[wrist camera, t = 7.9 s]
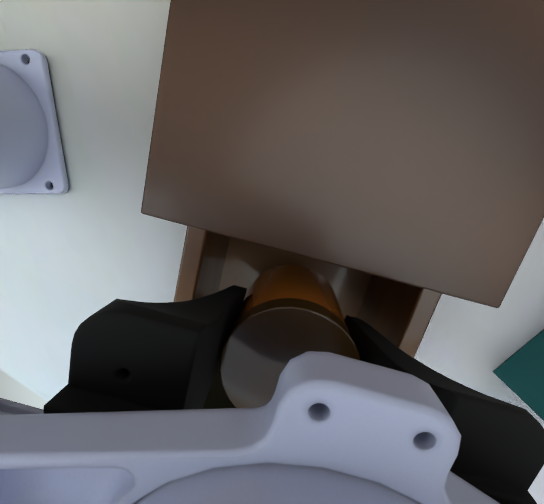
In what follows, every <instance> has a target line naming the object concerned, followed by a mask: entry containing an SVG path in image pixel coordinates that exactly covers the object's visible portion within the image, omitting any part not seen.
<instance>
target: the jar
mask: <svg viewBox="0 0 544 504" xmlns="http://www.w3.org/2000/svg"><path fill="white" fill-rule="evenodd" d="M307 351H315V352H330V353H334V354H338V355H341V356H345V357H349V358H353V359H356V360H360V361H361V358H360V355H359V352H358V349H357V346H356V344H355V341H354V339H353V337H352V335H351V332H350V331H349V329H348V327H347V324H346V321H345V319H344V316H343V313H342V310H341V308H340V305H339V302H338V300H337V297H336V294H335V292H334V290H333V288H332V286H331V285H330V283H329V282H328V281H327V280H326V279H325V278H324V277H323V276H322V275H321V274H319V273H318V272H316V271H314V270H312V269H310V268H307V267H304V266H300V265H281V266H277V267H274V268H271V269H269V270H267V271H265V272H264V273H262V274H261V275H260V276H259V277H257V279H256V280H255V281H254V282H253V283H252V285H251V286H250V288H249V290H248V292H247V295H246V297H245V299H244V302H243V304H242V307H241V309H240V312H239V314H238V316H237V318H236V321H235V323H234V325H233V327H232V328H231V330H230V332H229V334H228V336H227V339H226V341H225V343H224V346H223V349H222V352H221V356H220V369H219V370H220V377H221V381H222V384H223V387H224V390H225V392H226V394H227V396H228V397H229V399H230V401H231V402H232V403H233V404H234V406H235V407H236V408H257V407H262V406H264V405H266V404H268V403H269V401H270V400H271V399H272V397H273V395H274V393H275V390H276V387H277V383H278V380H279V377H280V374H281V372H282V371H283V370H284V368H285V367H286V365H287V364H288V362H289V361H290V359H293V358H295V357H297V356H299V355H301V354H303V353H305V352H307Z"/></svg>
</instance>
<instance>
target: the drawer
mask: <svg viewBox="0 0 544 504" xmlns="http://www.w3.org/2000/svg"><path fill="white" fill-rule="evenodd" d="M281 265H300V266H304V267H307V268H310V269H312V270H314V271H316V272H318V273H319V274H321V275H322V276H323V277H324V278H325V279H326V280H327V281H328V282H329V283H330V285H331V286H332V288H333V290H334V292H335V294H336V297H337V300H338V302H339V305H340V308H341V310H342V313H343V316H344V319H345V318H346V315H348V316H351V317H355V318H359V319H361V320H363V321H365V322H366V323H367V324H369V325H370V326H371V327H373V328H374V329H375V330H376V331H378V332H379V333H380V334H381V335H383V336H384V337H385V338H386V339H388V340H389V341H390V342H392V343H393V344H394V345H396V346H397V347H398V348H400V349H401V350H402V351H404V352H405V353H407V354H408V355H410V356H411V357H413V358H414V356H415V354H416V352H417V349H418V347H419V345H420V342H421V340H422V338H423V335H424V333H425V331H426V329H427V326H428V324H429V322H430V319H431V317H432V315H433V312H434V310H435V308H436V306H437V303H438V301H439V299H440V296H441V294H442V293H438V292H435V291H431V290H427V289H423V288H420V287H416V286H412V285H408V284H405V283H401V282H397V281H393V280H390V279H386V278H382V277H378V276H375V275H371V274H367V273H363V272H360V271H356V270H352V269H348V268H345V267H341V266H337V265H333V264H330V263H326V262H322V261H318V260H315V259H311V258H307V257H303V256H299V255H296V254H292V253H288V252H284V251H281V250H277V249H273V248H269V247H266V246H262V245H258V244H254V243H251V242H247V241H243V240H239V239H236V238H232V237H228V236H224V235H221V234H217V233H213V232H209V231H206V230H202V229H198V228H194V227H191V226H187V232H186V237H185V243H184V248H183V254H182V259H181V265H180V270H179V276H178V281H177V286H176V292H175V297H174V302H181V301H188V300H193V299H198V298H201V297H204V296H207V295H210V294H213V293H216V292H218V291H221V290H223V289H226V288H228V287H230V286H233V285H236V286H239V287H243V288H247V290H246V294H245V297H246V295H247V292H248V290H249V288H250V286H251V285H252V283H253V282H254V281H255V280H256V279H257V277H259V276H260V275H261V274H262V273H264V272H265V271H267V270H269V269H271V268H274V267H277V266H281ZM244 299H245V298H244ZM223 408H236V407H235V406H234V404H233V403H232V402H231V401H230V399H229V397H228V396H227V394H226V392H225V390H224V387H223V384H222V381H221V377H220V370H219V371H218V373H217V375H216V377H215V379H214V381H213V383H212V385H211V387H210V390H209V392H208V395H207V397H206V400H205V403H204V406H203V408H202V409H223Z"/></svg>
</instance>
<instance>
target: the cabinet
mask: <svg viewBox="0 0 544 504" xmlns="http://www.w3.org/2000/svg"><path fill="white" fill-rule="evenodd" d="M141 213H143V214H146V215H149V216H153V217H157V218H161V219H164V220H168V221H172V222H176V223H179V224H183V225H187V226H191V227H194V228H198V229H202V230H206V231H209V232H213V233H217V234H221V235H224V236H228V237H232V238H236V239H239V240H243V241H247V242H251V243H254V244H258V245H262V246H266V247H269V248H273V249H277V250H281V251H284V252H288V253H292V254H296V255H299V256H303V257H307V258H311V259H315V260H318V261H322V262H326V263H330V264H333V265H337V266H341V267H345V268H348V269H352V270H356V271H360V272H363V273H367V274H371V275H375V276H378V277H382V278H386V279H390V280H393V281H397V282H401V283H405V284H408V285H412V286H416V287H420V288H423V289H427V290H431V291H435V292H438V293H442V294H446V295H450V296H453V297H457V298H461V299H465V300H468V301H472V302H476V303H480V304H483V305H487V306H491V307H495V308H499V307H500V305H501V303H502V301H503V299H504V297H505V295H506V293H507V291H508V289H509V286H510V284H511V282H512V280H513V278H514V276H515V274H516V272H517V270H518V268H519V266H520V264H521V262H522V260H523V258H524V256H525V254H526V252H527V250H528V248H529V246H530V244H531V242H532V240H533V238H534V236H535V234H536V232H537V230H538V228H539V226H540V224H541V222H542V220H543V218H544V0H171V2H170V9H169V16H168V23H167V30H166V38H165V45H164V52H163V59H162V66H161V73H160V80H159V88H158V95H157V102H156V109H155V116H154V123H153V130H152V137H151V145H150V152H149V159H148V166H147V173H146V180H145V187H144V195H143V202H142V209H141Z"/></svg>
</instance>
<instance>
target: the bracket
mask: <svg viewBox="0 0 544 504" xmlns="http://www.w3.org/2000/svg"><path fill="white" fill-rule="evenodd" d="M493 372H494V373H495V374H496V375H497V376H498V377H499V378H500V379H501V380H502V381H503V382H504V383H505V384H506V385H507V386H508V387H509V388H510V389H511V390H512V391H513V392H515V393H516V394H517V395H518V396H519V397H520V398H521V399H522V400H523V401H524V402H525V403H526V404H527V405H528V406H529V407H530V408H531V409H532V410H533V411H534V412H535V413H536V414H538V415H539V416H540V417H541V418H542V419H543V420H544V330H543V331H541V332H540V333H539V334H538V335H537V336H535V337H534V338H533V339H532V340H531V341H529V342H528V343H527V344H526V345H525V346H523V347H522V348H521V349H520V350H519V351H517V352H516V353H515V354H514V355H513V356H511V357H510V358H509V359H508V360H507V361H505V362H504V363H503V364H502V365H501V366H499V367H498V368H497V369H496V370H495V371H493Z"/></svg>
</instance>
